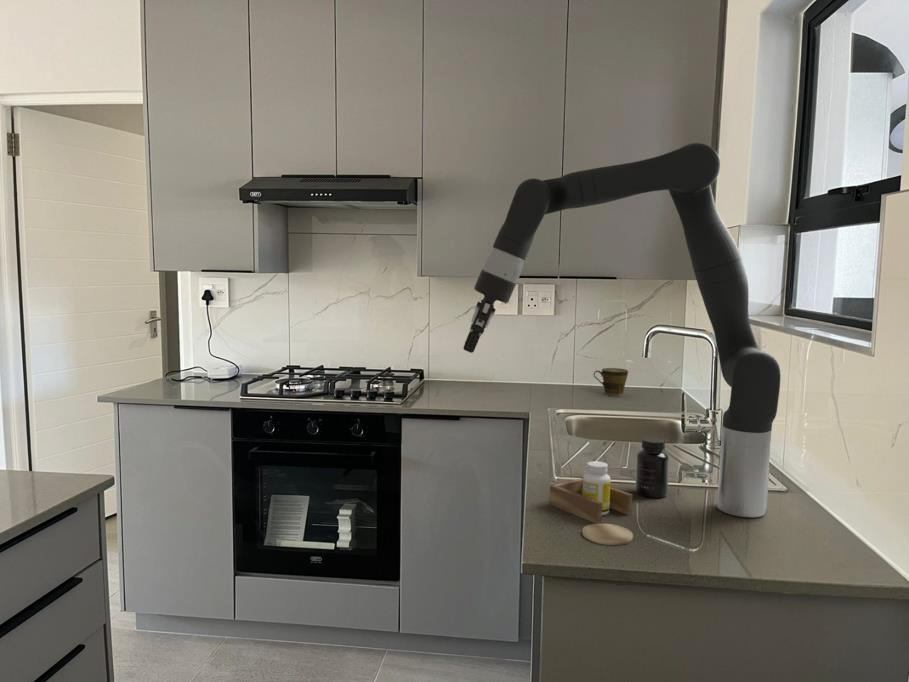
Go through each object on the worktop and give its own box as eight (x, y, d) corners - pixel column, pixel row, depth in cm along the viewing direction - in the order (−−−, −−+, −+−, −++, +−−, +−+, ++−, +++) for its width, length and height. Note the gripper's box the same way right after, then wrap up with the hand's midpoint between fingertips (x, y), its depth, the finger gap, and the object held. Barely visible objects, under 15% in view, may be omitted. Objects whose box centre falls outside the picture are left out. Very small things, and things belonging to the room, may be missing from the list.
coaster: (604, 523, 135) (605, 520, 135) (643, 538, 128) (643, 535, 128) (572, 532, 130) (572, 529, 130) (610, 549, 123) (610, 546, 123)
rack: (582, 496, 151) (583, 477, 151) (631, 514, 141) (632, 494, 141) (549, 504, 145) (550, 485, 145) (597, 524, 135) (598, 503, 134)
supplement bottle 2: (642, 486, 159) (645, 434, 158) (672, 493, 155) (675, 439, 153) (629, 493, 154) (632, 439, 152) (659, 501, 149) (662, 445, 148)
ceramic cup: (625, 393, 277) (626, 368, 276) (628, 398, 267) (629, 372, 266) (591, 392, 279) (593, 367, 278) (593, 396, 269) (594, 370, 268)
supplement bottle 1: (605, 507, 145) (607, 460, 144) (612, 516, 139) (614, 468, 138) (579, 506, 144) (581, 459, 143) (584, 516, 139) (587, 467, 138)
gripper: (518, 283, 135) (485, 360, 137) (515, 281, 149) (485, 351, 151) (481, 267, 135) (449, 345, 137) (482, 267, 149) (453, 338, 151)
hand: (468, 348), depth 144 cm, fingers open, 8 cm apart
